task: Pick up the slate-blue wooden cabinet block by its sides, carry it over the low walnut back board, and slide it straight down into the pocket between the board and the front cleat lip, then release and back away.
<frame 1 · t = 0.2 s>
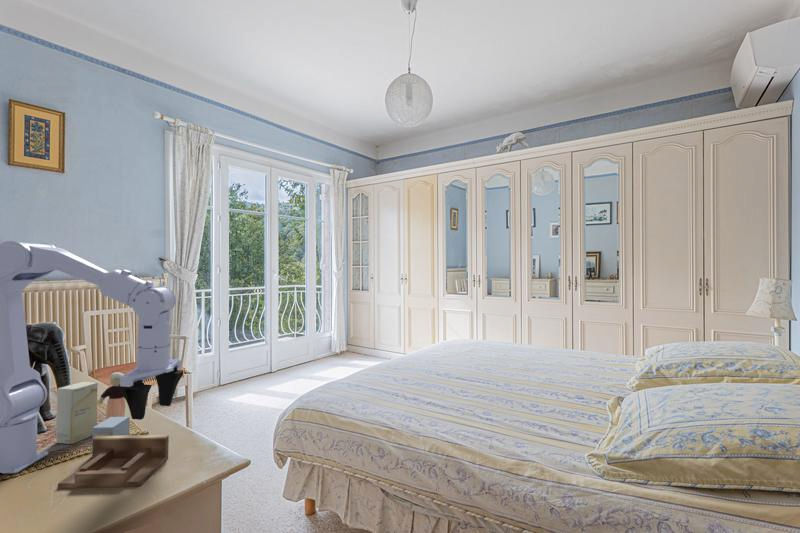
hand: (152, 411, 83), 10 cm above the dresser, tool pointing down, fingers open, 7 cm apart
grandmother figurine: (116, 423, 101), on the dresser
cabinet block: (111, 449, 87), on the dresser
rack: (117, 472, 78), on the dresser
skincare box: (76, 439, 92), on the dresser
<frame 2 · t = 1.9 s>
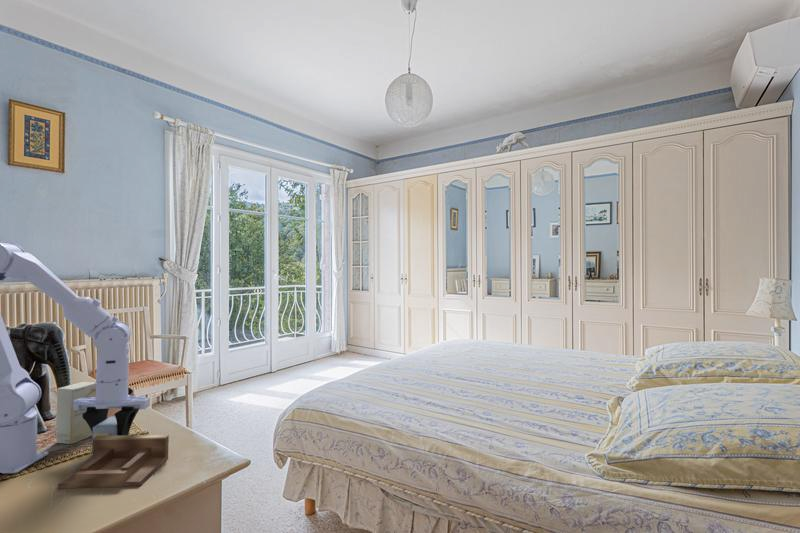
hand: (111, 441, 87), 2 cm above the dresser, tool pointing down, fingers closed on cabinet block, 4 cm apart
cabinet block: (111, 449, 87), on the dresser, touching gripper
everything else where it was.
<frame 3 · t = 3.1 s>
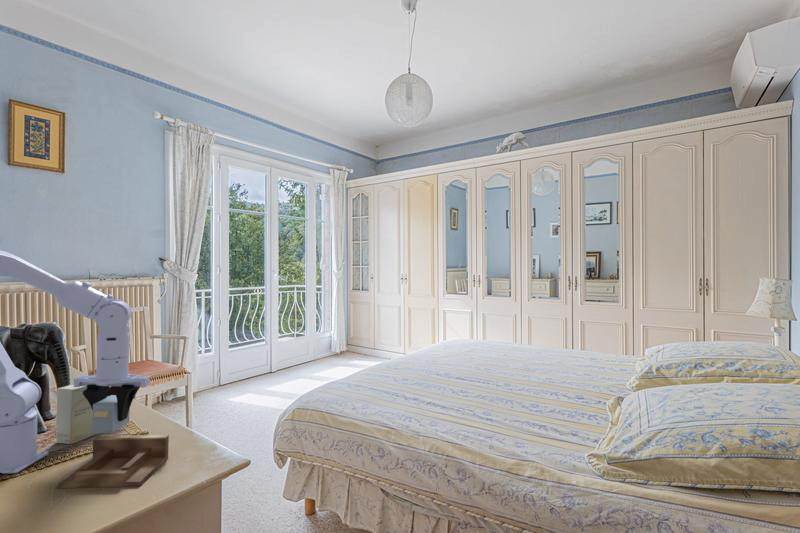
hand: (111, 419, 87), 6 cm above the dresser, tool pointing down, fingers closed on cabinet block, 4 cm apart
cabinet block: (111, 427, 87), point 5 cm above the dresser, touching gripper
everything else where it was.
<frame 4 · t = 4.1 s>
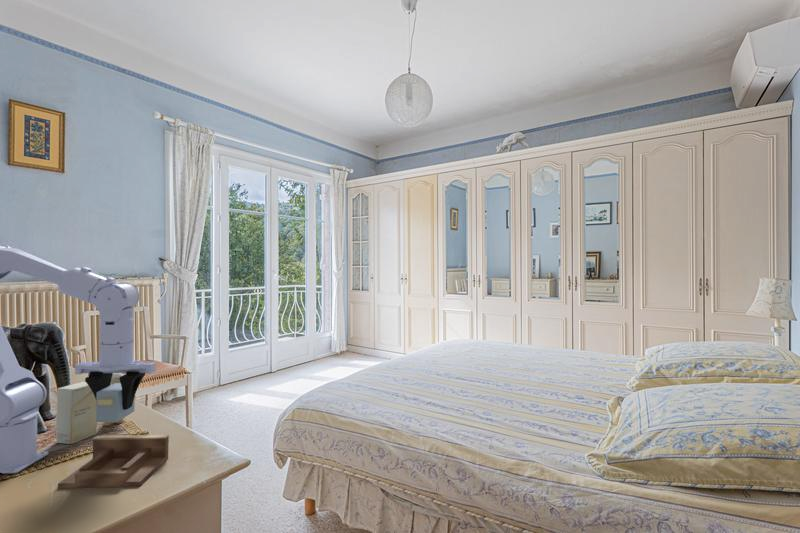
hand: (115, 408, 83), 10 cm above the dresser, tool pointing down, fingers closed on cabinet block, 4 cm apart
cabinet block: (115, 416, 83), point 9 cm above the dresser, touching gripper
everything else where it was.
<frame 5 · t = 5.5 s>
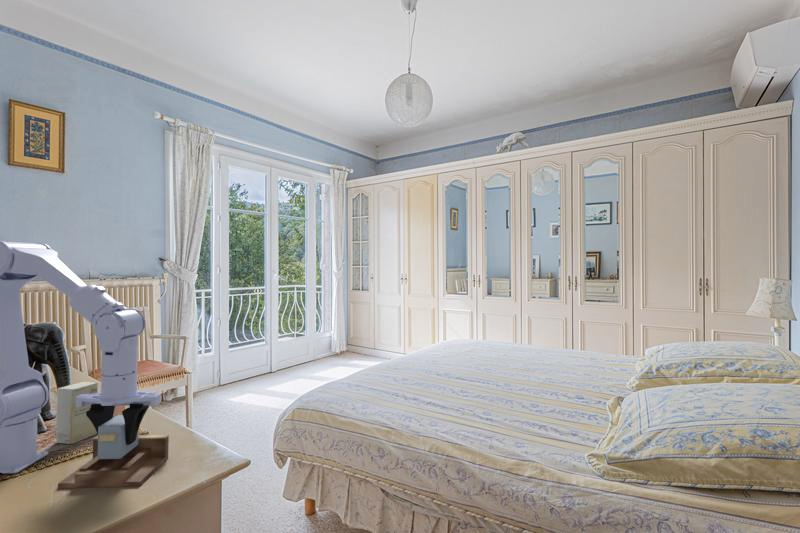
hand: (118, 442, 78), 6 cm above the dresser, tool pointing down, fingers closed on cabinet block, 4 cm apart
cabinet block: (118, 451, 78), point 4 cm above the dresser, touching gripper
everything else where it was.
when the fingers open (3 cm above the dresser, at t = 6.4 s): cabinet block stays where it is, resting on rack.
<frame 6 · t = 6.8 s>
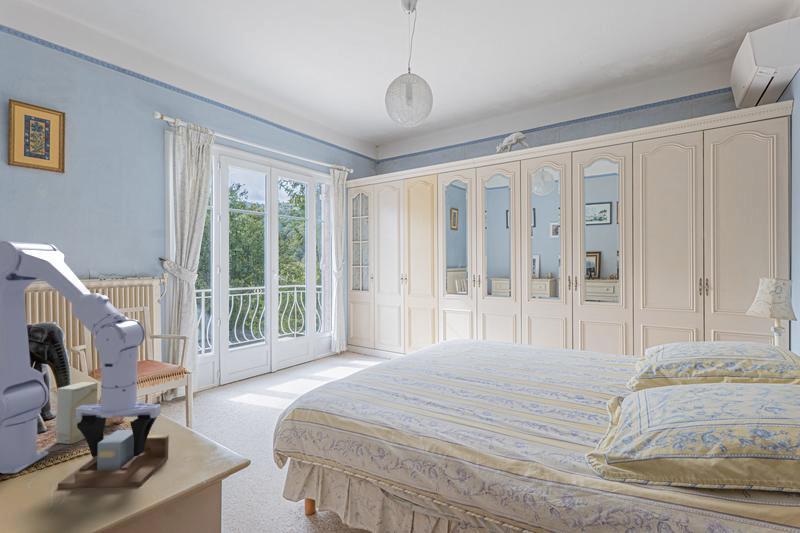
hand: (118, 454, 78), 3 cm above the dresser, tool pointing down, fingers open, 7 cm apart
cabinet block: (118, 467, 78), point 1 cm above the dresser, touching rack
everything else where it was.
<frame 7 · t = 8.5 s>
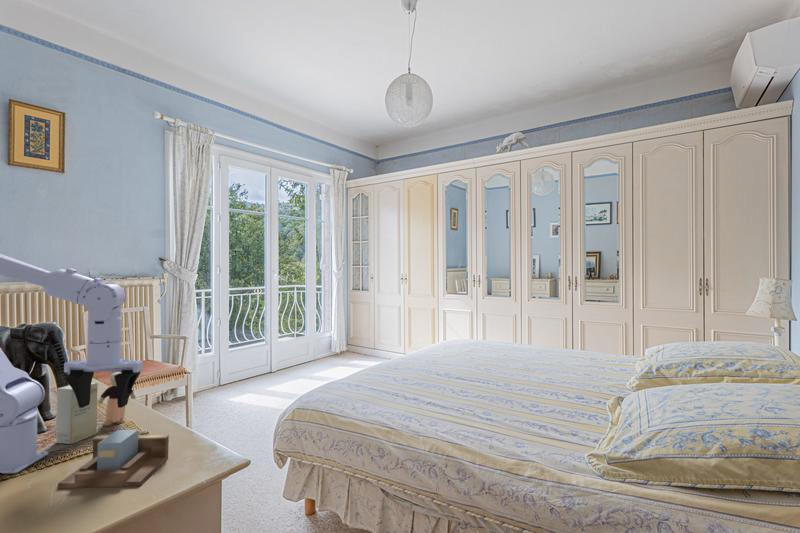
hand: (103, 406, 84), 10 cm above the dresser, tool pointing down, fingers open, 7 cm apart
nothing on the dresser moved.
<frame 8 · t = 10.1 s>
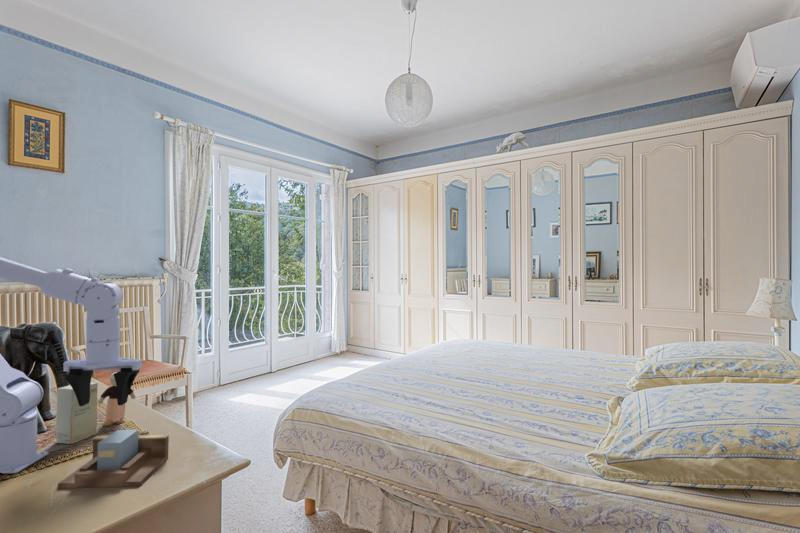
hand: (103, 404, 85), 10 cm above the dresser, tool pointing down, fingers open, 7 cm apart
nothing on the dresser moved.
at the end: cabinet block 0.4 cm off-centre on the rack, point 0.8 cm above the rack's base; cabinet block tilted 0°; the gripper is holding nothing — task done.
